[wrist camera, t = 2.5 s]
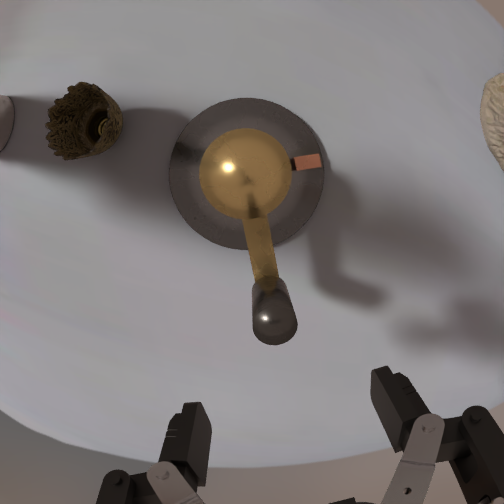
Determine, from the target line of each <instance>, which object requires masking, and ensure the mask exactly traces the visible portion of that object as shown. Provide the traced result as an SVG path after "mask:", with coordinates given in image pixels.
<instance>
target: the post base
mask: <svg viewBox="0 0 504 504" xmlns="http://www.w3.org/2000/svg"><path fill="white" fill-rule="evenodd" d="M241 128H250V129H256V130H260V131H263V132H265V133H267V134H269V135H271V136H272V137H273V138H275V139H276V140H277V141H278V142H279V143H280V144H281V145H282V146H283V148H284V149H285V151H286V153H287V155H288V157H289V159H290V163H291V169H292V179H291V184H290V188H289V190H288V193H287V195H286V197H285V198H284V200H283V201H282V202H281V204H280V205H279V206H278V207H277V208H275V209H274V210H273V211H271V212H270V213H268V214H267V217H268V222H269V227H270V233H271V238H272V243H273V245H275V244H277V243H280V242H282V241H283V240H285V239H287V238H289V237H290V236H291V235H293V234H294V233H296V232H297V231H298V230H299V229H300V228H301V227H302V226H303V225H304V224H305V223H306V222H307V220H308V219H309V218H310V217H311V215H312V213H313V212H314V210H315V208H316V206H317V204H318V201H319V199H320V196H321V192H322V188H323V181H324V167H323V159H322V155H321V152H320V149H319V146H318V144H317V141H316V139H315V138H314V136H313V134H312V132H311V131H310V130H309V128H308V127H307V126H306V125H305V123H304V122H303V121H302V120H301V119H300V118H299V117H297V116H296V115H295V114H293V113H292V112H291V111H289V110H288V109H286V108H284V107H282V106H281V105H278V104H276V103H273V102H270V101H266V100H263V99H256V98H238V99H231V100H227V101H223V102H220V103H218V104H215V105H213V106H211V107H209V108H207V109H206V110H204V111H202V112H201V113H200V114H199V115H197V116H196V117H195V118H194V119H193V120H192V121H191V122H190V123H189V124H188V125H187V126H186V127H185V129H184V130H183V132H182V133H181V135H180V136H179V138H178V140H177V142H176V144H175V147H174V149H173V152H172V156H171V160H170V168H169V181H170V187H171V192H172V196H173V199H174V202H175V204H176V206H177V208H178V210H179V212H180V213H181V215H182V217H183V218H184V219H185V221H186V222H187V223H188V224H189V225H190V226H191V227H192V228H193V229H194V230H195V231H196V232H197V233H199V234H200V235H201V236H203V237H204V238H206V239H208V240H209V241H211V242H213V243H216V244H218V245H221V246H224V247H228V248H232V249H240V250H248V246H247V241H246V236H245V232H244V227H243V222H242V219H236V218H232V217H229V216H227V215H225V214H223V213H221V212H219V211H218V210H217V209H215V208H214V207H213V206H212V205H211V204H210V203H209V201H208V200H207V199H206V197H205V195H204V193H203V191H202V188H201V185H200V179H199V169H200V163H201V159H202V157H203V155H204V153H205V151H206V149H207V148H208V147H209V145H210V144H211V143H212V142H213V141H214V140H215V139H216V138H218V137H219V136H221V135H222V134H224V133H226V132H229V131H231V130H235V129H241Z"/></svg>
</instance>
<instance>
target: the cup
mask: <svg viewBox="0 0 504 504" xmlns="http://www.w3.org/2000/svg"><path fill="white" fill-rule="evenodd" d="M67 89H68V91H69V93H68V94H65V95H64V97H63V98H61V99H56V100H55V101H54V102H55V104H56V105H54V106H52V107H50V108H49V109H48V116H49V118H50V122H47V123H46V124H45V126H46V128H47V129H49V130H51V131H50V132H49V133H48V134H47V136H46V139H47V140H48V141H49V144H48V147H49V148H51V149H53V150H56V152H54V155H56V156H62V157H63V159H64V160H73V159H78V158H84V157H89V156H93V155H97V154H100V153H102V152H104V151H106V150H107V149H109V148H110V147H111V146H112V145H113V144H114V143H115V142H116V140H117V139H118V137H119V135H120V133H121V130H122V125H123V117H122V112H121V110H120V108H119V106H118V104H117V103H116V102H115V101H114V100H113V99H112V98H111V97H110V96H109V95H108V94H107V93H105V92H104V91H103V90H102V89H100V88H99V87H98V86H96V85H95V84H89V83H86V82H79V83H78V84H76V85H75V86H69V87H68V88H67Z"/></svg>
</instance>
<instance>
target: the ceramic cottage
mask: <svg viewBox="0 0 504 504" xmlns="http://www.w3.org/2000/svg"><path fill="white" fill-rule="evenodd" d="M483 91H484V93H483V96H482V99H481V109H480V120H481V124H482V129H483V133H484V136H485V140H486V143H487V145H488V147H489V148H490V151H491V152H492V154H493V155H494V157H495V158H496V159H497V161H498V163H499V165H500V167H501V169H502V170H503V171H504V73H500V74H498V75H497V76H494V77H493V78H492V79H490V80H488V82H487V83H486V84H485V88H484V90H483Z"/></svg>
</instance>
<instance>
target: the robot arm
mask: <svg viewBox="0 0 504 504" xmlns="http://www.w3.org/2000/svg"><path fill="white" fill-rule="evenodd" d="M13 122H14V106H13V103H12V101H11V99H10V98H9V97H7V96H3V95H0V151H1V150H2V149H3V148H4V146H5V145H6V143H7V141H8V139H9V137H10V134H11V131H12V127H13ZM370 394H371V400H372V403H373V405H374V408H375V410H376V412H377V414H378V416H379V418H380V420H381V423H382V425H383V427H384V429H385V431H386V434H387V436H388V438H389V440H390V442H391V445H392V447H393V449H394V451H395V453H397V452H399V451H403V456H402V459H401V460H400V462H399V464H398V467H397V469H396V471H395V474H394V476H393V478H392V481H391V483H390V485H389V487H388V489H387V492H386V493H385V496H384V498H383V500H382V502H381V504H423V501H424V499H425V496H426V493H427V491H428V488H429V485H430V482H431V479H432V476H433V473H434V470H435V463H437V462H443V461H449V463H450V465H451V467H452V469H453V471H454V474H455V476H456V478H457V480H458V483H459V485H460V487H461V490H462V492H463V494H464V497H465V499H466V502H467V504H504V434H503V432H502V431H501V429H500V428H499V426H498V425H497V423H496V422H495V420H494V419H493V417H492V416H491V415H490V413H489V412H488V410H487V409H486V408H484V407H482V406H471V407H469V408H467V409H466V410H465V411H464V413H463V415H462V416H459V417H454V418H448V419H442V418H441V417H440V416H439V415H436V414H432V413H431V412H430V411H429V409H428V408H427V406H426V405H425V403H424V402H423V400H422V398H421V397H420V395H419V394H418V392H416V389H415V388H414V386H412V383H411V382H410V380H409V379H408V377H406V376H404V375H403V374H401V373H400V372H399V373H396V374H393V373H392V371H391V370H390V368H389V367H388V366H383V367H380V368H377V369H374V370H372V371H371V391H370ZM167 430H168V431H167V432H166V438H165V440H164V443H163V447H162V450H161V454H160V458H159V461H158V463H155V464H153V465H152V466H151V467H150V468H149V469H148V471H147V472H145V473H140V474H135V475H129V474H128V473H126V472H125V471H123V470H113V471H110V472H109V473H108V474H106V476H105V477H104V479H103V482H102V485H101V488H100V492H99V495H98V498H97V502H96V504H205V503H204V502H203V501H202V499H201V498H200V497H199V496H198V495H197V493H196V492H197V486H205V484H206V475H207V468H208V459H209V451H210V443H211V435H212V428H211V423H210V421H209V418H208V416H207V414H206V412H205V410H204V407H203V405H202V403H201V402H190V403H184V405H183V409H182V413H177V414H175V415H174V416H173V418H172V419H171V420H170V422H169V425H168V429H167ZM329 504H374V503H368V502H355V498H354V497H353V498H349V499H346V500H342V501H337V502H334V503H329Z"/></svg>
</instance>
